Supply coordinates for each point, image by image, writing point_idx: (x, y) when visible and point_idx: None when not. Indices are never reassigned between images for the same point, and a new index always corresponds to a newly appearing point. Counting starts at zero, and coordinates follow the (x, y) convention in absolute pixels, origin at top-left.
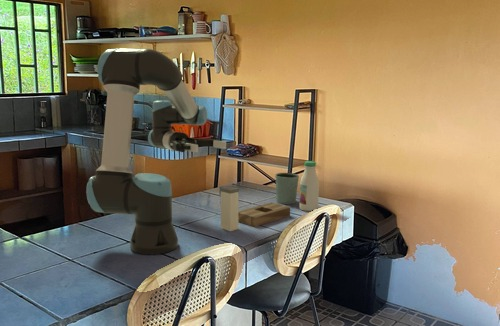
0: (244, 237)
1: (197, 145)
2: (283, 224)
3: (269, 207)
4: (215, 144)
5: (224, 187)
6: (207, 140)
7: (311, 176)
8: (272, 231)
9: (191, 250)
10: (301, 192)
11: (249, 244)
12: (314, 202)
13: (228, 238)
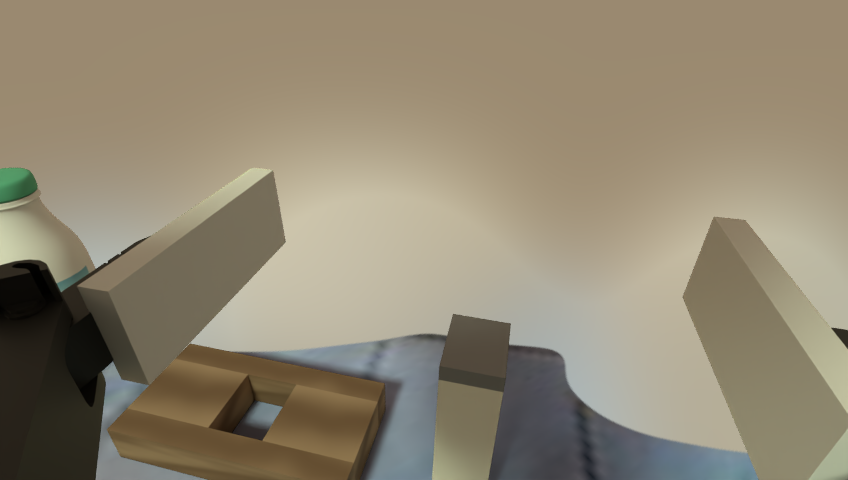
0: (505, 387)
1: (720, 226)
2: (313, 351)
3: (211, 400)
4: (173, 310)
5: (482, 369)
6: (36, 405)
7: (63, 224)
8: (399, 349)
9: (745, 460)
10: None
11: (542, 351)
12: None
13: (553, 422)
